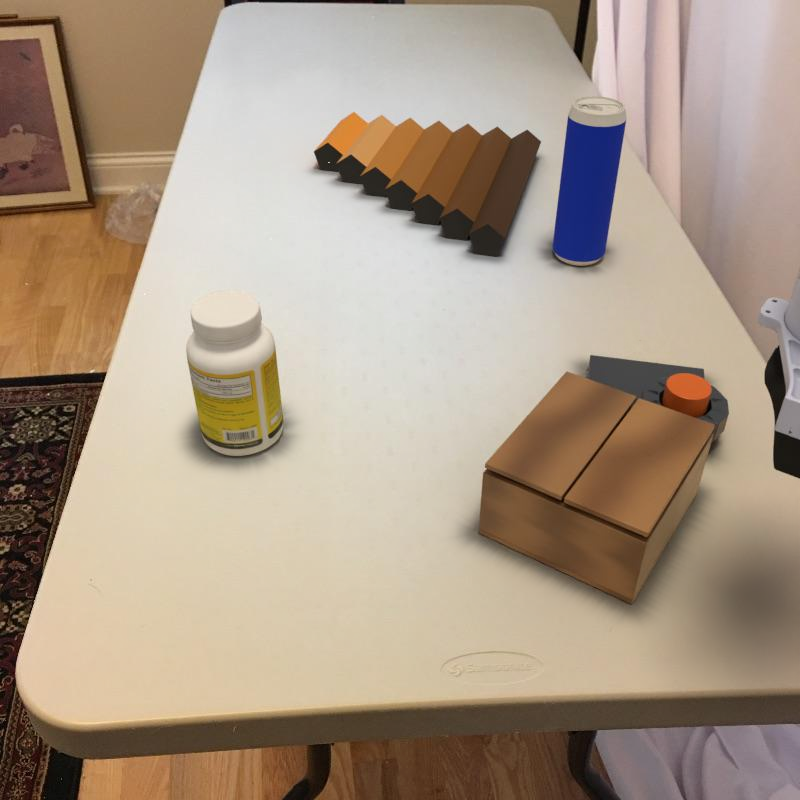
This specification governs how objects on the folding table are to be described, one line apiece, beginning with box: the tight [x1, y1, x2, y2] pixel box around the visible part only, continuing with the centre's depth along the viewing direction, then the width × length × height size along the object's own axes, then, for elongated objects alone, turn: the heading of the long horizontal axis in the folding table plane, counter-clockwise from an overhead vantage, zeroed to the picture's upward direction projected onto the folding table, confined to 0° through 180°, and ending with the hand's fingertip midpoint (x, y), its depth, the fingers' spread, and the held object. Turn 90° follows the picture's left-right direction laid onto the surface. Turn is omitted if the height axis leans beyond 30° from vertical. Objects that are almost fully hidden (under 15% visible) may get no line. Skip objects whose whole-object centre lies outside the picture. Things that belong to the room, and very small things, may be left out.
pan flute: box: [313, 111, 542, 257], centre depth 100 cm, size 25×3×25 cm
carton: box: [478, 370, 713, 605], centre depth 60 cm, size 11×12×6 cm
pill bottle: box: [185, 289, 284, 457], centre depth 65 cm, size 6×6×11 cm
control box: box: [586, 354, 730, 443], centre depth 69 cm, size 10×10×3 cm
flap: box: [564, 398, 715, 537], centre depth 57 cm, size 5×12×1 cm, turn 146°
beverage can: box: [552, 95, 627, 267], centre depth 85 cm, size 5×5×15 cm
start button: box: [662, 373, 712, 417], centre depth 66 cm, size 3×3×2 cm
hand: (795, 468), depth 50 cm, fingers closed
